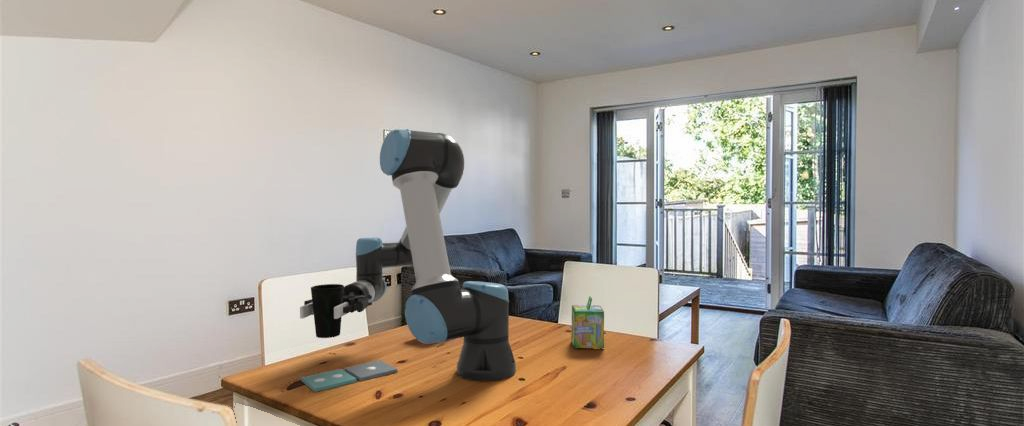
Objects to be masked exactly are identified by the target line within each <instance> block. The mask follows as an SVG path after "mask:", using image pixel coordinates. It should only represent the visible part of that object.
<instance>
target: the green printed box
mask: <svg viewBox="0 0 1024 426" xmlns="http://www.w3.org/2000/svg"><path fill="white" fill-rule="evenodd" d="M592 301H593V299H592V296H588V300H587V303H586V305H582V304H578V305H577V304H572V305H571V333H570V334H571V336H570V338H571V339H570V340H571V343H572V346H574V347H573V349H574V348H604V349H605V333H604V332H605V311H604V310H603V307H602V306H601V305H592Z"/></svg>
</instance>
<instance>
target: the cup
mask: <svg viewBox="0 0 1024 426" xmlns="http://www.w3.org/2000/svg"><path fill="white" fill-rule="evenodd" d="M344 287H345V285H344V284H339V283H328V284H327V283H326V284H317V285H313V286H310V293H311V299H312V304H313V313H314V315H313V320H314V321H313V322H314V327H315V337H316V338H319V339H330V338H335V337H338V336H340V335H341V329H342V328H341V327H342V317H340V318H338V319H334V307H336V306H338V305H340V304H342V303H343V292H344Z"/></svg>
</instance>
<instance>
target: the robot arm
mask: <svg viewBox="0 0 1024 426" xmlns="http://www.w3.org/2000/svg"><path fill="white" fill-rule="evenodd" d="M379 165H380V166H379V167H380V170H381V171H382V173H383V174H384V175H386V176H391V180H392V185H393V186H394V187H395V188H397V189H398V190H399V191H400V198H401V202H402V209H403V214H404V221H405V225H406V226H405V227H404V230H403V232H402V234H401V237H400V239H399V241H398V242H383V240H382V238H380V237H361V238H358V239H357V240H356V246H355V262H356V263H355V264H356V265H355V267H356V275H355V276H356V277H355V278H356V279H355V280H356V281H354V282H352V283H350V284H349V283H348V284H346V285H344V292H343V303H342V304H340V305H338V306H336V307H334V319H338V318H340V317H341V318H342V317H343V316H346V315H348V314H349V313H351V314H352V313H355V312H358V313H362V312H363V311H364V310H365V309H367V307H369V306H372V305H373V303H374V302H377V301H378V300H380V299H382V297H383V296H384V295H385V294H386V292H387V283H386V280H385V279H384V278H383V269H388V268H397V267H412V266H413V272H414V277H415V284H413V286H412V287H411V289H410V290H411V291H410V292H411V296H409V297H408V299H407V300H406V302H405V305H404V306H405V309H404V316H405V322H406V324H407V327H408V329H409V331H410V333H411V335H412V336H413V337H414V338H415V339H416V340H417V341H418V342H420V343H422V344H425V345H426V344H428V345H429V344H431V345H432V344H435V343H436V344H440V343H444V342H447V341H452V340H456V339H461V338H463V343H462V346H461V347H462V348H461V350H460V353H459V357H458V361H457V364H456V373H457V375H458V376H459V377H460V378H463V379H465V380H469V381H476V382H496V381H499V380H500V381H501V380H506V379H508V378H511V377H512V376H514V375H515V374H516V370H517V369H516V367H517V366H516V365H517V363H516V360H515V357H514V353H513V350H512V348H511V344H510V340H509V338H510V337H509V335H510V333H509V332H510V331H509V329H510V328H509V327H510V326H509V324H510V323H509V318H510V317H509V316H510V314H509V311H510V310H509V308H510V305H509V303H510V300H509V289H508V288H507V286H506V285H504V284H502V283H495V282H486V281H474V280H473V281H470V280H468V281H467V280H466V281H464V282H463V284H462V288H461V285H460V281H459V280H458V279H457V278H456V277H454V276H453V275H452V272H451V267H450V262H449V257H448V251H447V246H446V240H445V236H444V231H443V227H442V226H443V225H442V221H441V215H440V214H441V212H442V210H443V208H444V206H445V204H446V203H447V200H448V198H449V196H450V194H451V192H452V191H453V189H456V188H458V187H459V184H460V182H461V180H462V177H463V174H464V169H465V157H464V153H463V149H462V147H461V146H460V144H459V142H457V140H455V138H453V137H452V136H451V135H448V134H445V133H443V132H442V133H441V132H431V131H419V130H410V129H407V128H406V129H398V128H397V129H391V131H389V132H388V133H387V135H386V136H385V137H384V140H383V142H382V145H381V148H380V151H379ZM303 301H304V300H303ZM303 303H304V304H303V305H301V306H299V319H305V318H307V317H310V316H312V315H313V316H314V313H313V304H312V298H310V299H307V300H305V301H304V302H303Z"/></svg>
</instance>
